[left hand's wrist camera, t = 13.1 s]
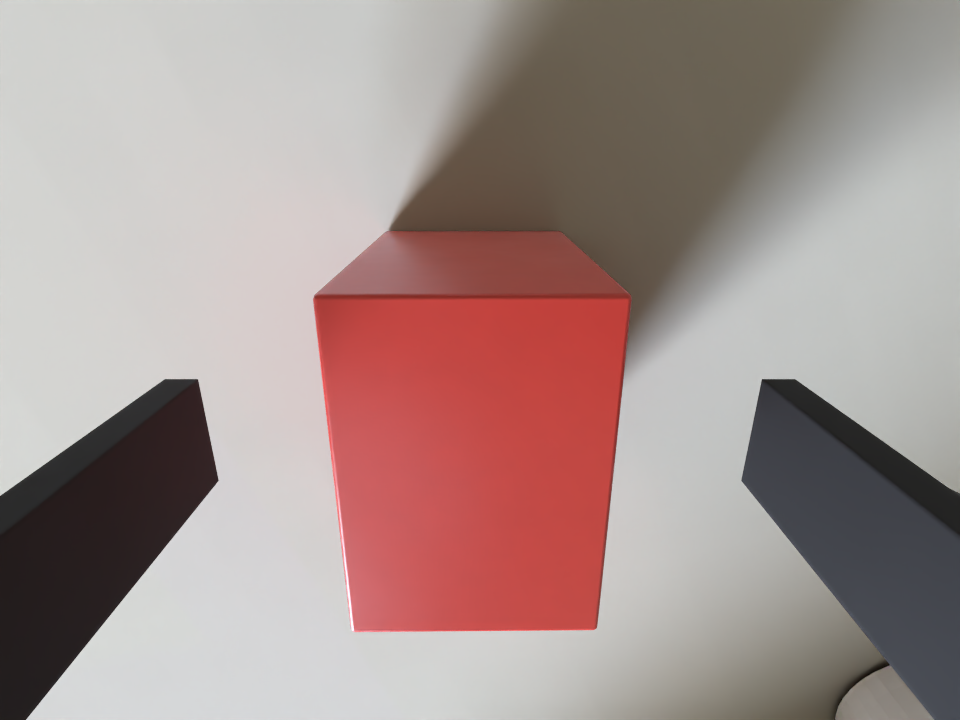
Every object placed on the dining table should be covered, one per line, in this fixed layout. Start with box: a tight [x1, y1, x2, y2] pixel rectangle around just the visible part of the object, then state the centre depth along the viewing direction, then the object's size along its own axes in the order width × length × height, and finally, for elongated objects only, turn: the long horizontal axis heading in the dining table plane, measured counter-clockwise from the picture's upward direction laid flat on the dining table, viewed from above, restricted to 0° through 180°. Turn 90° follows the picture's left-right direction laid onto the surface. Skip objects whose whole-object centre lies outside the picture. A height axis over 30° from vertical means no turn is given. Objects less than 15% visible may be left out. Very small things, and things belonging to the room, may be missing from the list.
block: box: [313, 231, 632, 632], centre depth 14 cm, size 6×8×8 cm
